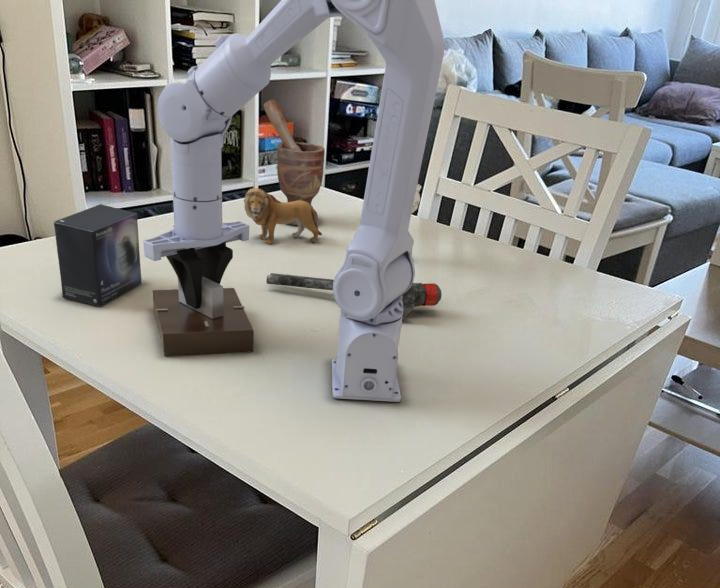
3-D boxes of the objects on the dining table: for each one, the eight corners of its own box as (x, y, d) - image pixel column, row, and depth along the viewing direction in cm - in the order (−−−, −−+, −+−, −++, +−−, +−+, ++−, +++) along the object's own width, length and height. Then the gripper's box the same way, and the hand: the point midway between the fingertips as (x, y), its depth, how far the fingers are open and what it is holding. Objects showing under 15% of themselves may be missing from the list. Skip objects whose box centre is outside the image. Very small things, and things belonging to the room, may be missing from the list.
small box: (102, 308, 102) (93, 230, 96) (60, 298, 103) (49, 221, 97) (144, 284, 110) (139, 211, 104) (106, 275, 112) (98, 202, 106)
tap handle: (223, 316, 96) (223, 284, 94) (212, 319, 95) (211, 287, 92) (189, 298, 100) (188, 267, 97) (178, 301, 99) (177, 270, 96)
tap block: (254, 351, 95) (254, 328, 94) (163, 356, 92) (161, 332, 90) (234, 308, 106) (234, 286, 104) (152, 310, 103) (151, 288, 101)
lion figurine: (250, 248, 127) (250, 193, 122) (238, 238, 131) (238, 184, 126) (328, 242, 133) (331, 189, 128) (315, 232, 137) (318, 181, 132)
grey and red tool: (443, 303, 119) (435, 326, 106) (285, 286, 123) (258, 306, 109) (448, 262, 116) (441, 281, 103) (286, 245, 120) (258, 261, 106)
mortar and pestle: (255, 222, 139) (256, 103, 127) (263, 209, 146) (265, 95, 134) (317, 229, 139) (324, 110, 127) (323, 216, 146) (329, 102, 134)
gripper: (223, 179, 96) (225, 282, 104) (124, 194, 87) (134, 306, 94) (261, 193, 92) (259, 298, 100) (161, 210, 83) (168, 325, 91)
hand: (200, 303), depth 97 cm, fingers closed on tap handle, 2 cm apart
